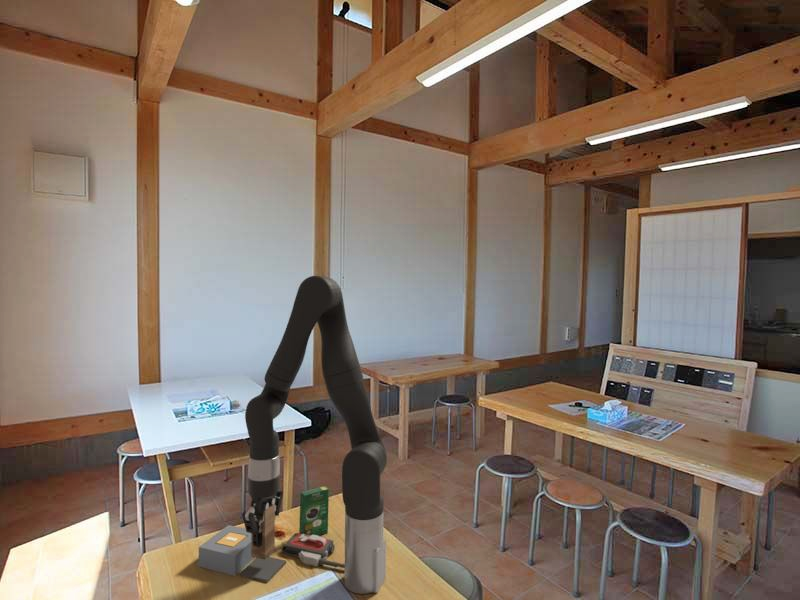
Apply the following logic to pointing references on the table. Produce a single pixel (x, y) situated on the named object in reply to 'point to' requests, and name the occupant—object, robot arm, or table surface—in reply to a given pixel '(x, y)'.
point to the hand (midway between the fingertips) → (263, 540)
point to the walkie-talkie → (311, 549)
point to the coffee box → (314, 511)
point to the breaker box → (226, 552)
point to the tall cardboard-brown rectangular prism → (265, 535)
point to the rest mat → (263, 569)
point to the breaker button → (231, 539)
